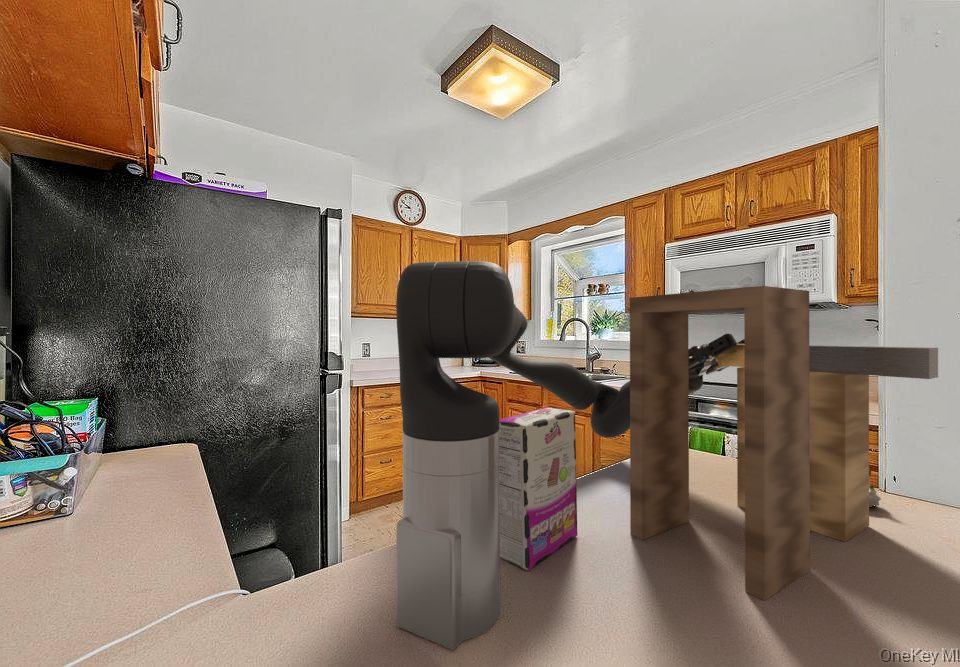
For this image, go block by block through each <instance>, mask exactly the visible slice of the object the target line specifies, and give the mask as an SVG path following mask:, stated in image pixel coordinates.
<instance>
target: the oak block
mask: <svg viewBox="0 0 960 667" xmlns="http://www.w3.org/2000/svg"><path fill="white" fill-rule="evenodd" d="M869 378H870V375H858V374H843V373H827V372H812V371H809V389H810V532H811V531H812V532H815V533H817V534H820V535H823V536H827V537H829V538H832V539H835V540H838V541H841V542H844V543H847V542H848V541H849V540H851V539H852V538H854V537H855V536H857V535H859V534H860V533H862V532H863V531H864V529H865V528H866V527H868V526H869V527H870V508H869V492H870V488H869V481H870V478H869V470H870V379H869ZM736 397H737V398H736V402H737V403H736V411H737V412H736V416H737V417H736V418H737V419H736V422H737V424H736V425H737V426H736V428H737V430H736V431H737V432H736V435H737V436H736V437H737V441H736V442H737V443H736V444H737V445H736V446H737V448H736V449H737V451H736V452H737V456H736V458H737V460H736V461H737V468H736V474H737V476H736V477H737V478H736V479H737V482H736V483H737V484H736V486H737V488H736V489H737V497H736V498H737V501H736V502H737V503H736V504H737V507H740V508H743V509H745V367H736ZM869 527H868V528H869ZM866 529H867V528H866ZM866 529H865V530H866Z"/></svg>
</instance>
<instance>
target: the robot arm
mask: <svg viewBox="0 0 960 667" xmlns="http://www.w3.org/2000/svg"><path fill="white" fill-rule="evenodd" d="M396 290H397V291H396V300H395V301H396V304H395V307H396V308H395V311H396V316H395V317H396V333H397V347H398V360H399V361H398V362H399V394H400V395H399V396H400V404H401V405H400V407H401V413H402V414H401V415H402V518H401V519H399V520H398V521H397V522H396V626H397V627H398V628H401V629H402V630H405V631H408V632H410V633H412V634H414V635H417V636H419V637H422V638H424V639H426V640H429V641H431V642H434V643H436V644H439V645H441V646H443V647H445V648H447V649H449V650H455V649H456V648H458V646H459V645H460V644H461V643H462V642H464V641H466V640H470V639H473V638H475V637H477V636H479V635H482V634H484V633H485V632H487V631H488V630H489V629H490V628H491V627H493V625H494V624H495V623H496V622H497V620H498V618H499V615H500V613H501V563H500V562H501V558H500V495H499V460H500V458H499V420H500V407H499V405H498V402H497V401H496V400H495V398H493V397H492V396H490V395H489V394H486V393H483V392H480V391H477V390H474V389H472V388H469V387H467V386H466V385H465V386H464V385H463V384H461V383H459V382H458V381H456V380H455V379H453V378H452V377H451V376H449V375H448V374H447V373H446V372H445V371H444V370H443V368H442V365H441V362H440V361H441V360H440V359H486V358H488V359H490V360H492V361H493V362H496V363H497V364H499V365H501V366H502V367H504V368H506V369H508V370H510V371H512V372H513V373H515V374H517V375H519V376H521V377H522V378H525V379H527V380H529V381H530V382H533V383H534V384H537V385H538V386H540V387H542V388H544V389H546V390H547V391H549V393H552V394H553V395H555V396H556V397H557V398H559V399H560V400H562V401H563V402H565V403H566V404H568V405H569V406H570V407H572V408H573V409H575V410H579V411H584V410H586V409H588V408H589V407H591V406H592V407H591V415H590V426H591V429H592V431H593V432H594V433H595V434H596V435H597V436H599V437H602V438H608V439H610V438H611V439H612V438H616V437H619V436H621V435H624V434H625V433H626V432H628V431H630V380H628V381H627V382H626V383H624V384H623V385H622V386H621V387H620V388H619V389H617V388H615V387H612V386H609V385H607V384H604V383H601V382H599V381H596V380H594V379H593V380H592V379H591V378H590V377H589V376H587V375H586V374H585V373H583V372H581V371H580V370H579V369H578V368H576V367H575V366H574V365H572V364H570V363H567V362H564V361H562V360H552V359H551V360H550V359H549V360H548V359H531V358H524V357H522V356H519V355H516V354H514V353H512V349H514V347H515V346H516V344H517V343H518V342H519V340H520V339H521V338H522V336H524V333H525V332H526V330H527V328H528V320H527V317H526V316H525V314H524V313H523V312H522V311H521V310H520V309H519V308H518V307H517V306H516V304H515V299H514V293H513V292H514V291H513V287H512V284H511V281H510V278H509V276H508V274H507V273H506V271H505V270H504V268H502V267H501V266H500V265H499V264H496V263H493V262H490V261H486V260H485V261H484V260H471V261H470V260H461V261H459V260H457V261H426V262H425V261H423V262H414V263H411V264H408V265H407V266H406V267H405V268H404V269H403V271H402V272H401V275H400V277H399V280H398V284H397V289H396ZM737 344H745V338H743V339H742V340H739V341H737V340H736V339H735V338H734V336H733V334H732V333H724V334H723V335H721V336H720V337H718V338H716V339H714V340H712V341H711V342H709V343H702V344H701V345H700V346H699V347H698V345H693V346H691V347H690V348H688V363H689V395H691V394H693V393H695V392H698V391H699V390H701V389H702V387H703V384H704V383H703V382H704V375H705V374H706V376H708V375H712V374H715V373H716V372H722V371H723V370H725V369H727V368H730V366H719V365H718V355H720V354H722V353H724V352H726V351H728V350H730V349H731V348H733V347H735V346H736V345H737Z"/></svg>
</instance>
